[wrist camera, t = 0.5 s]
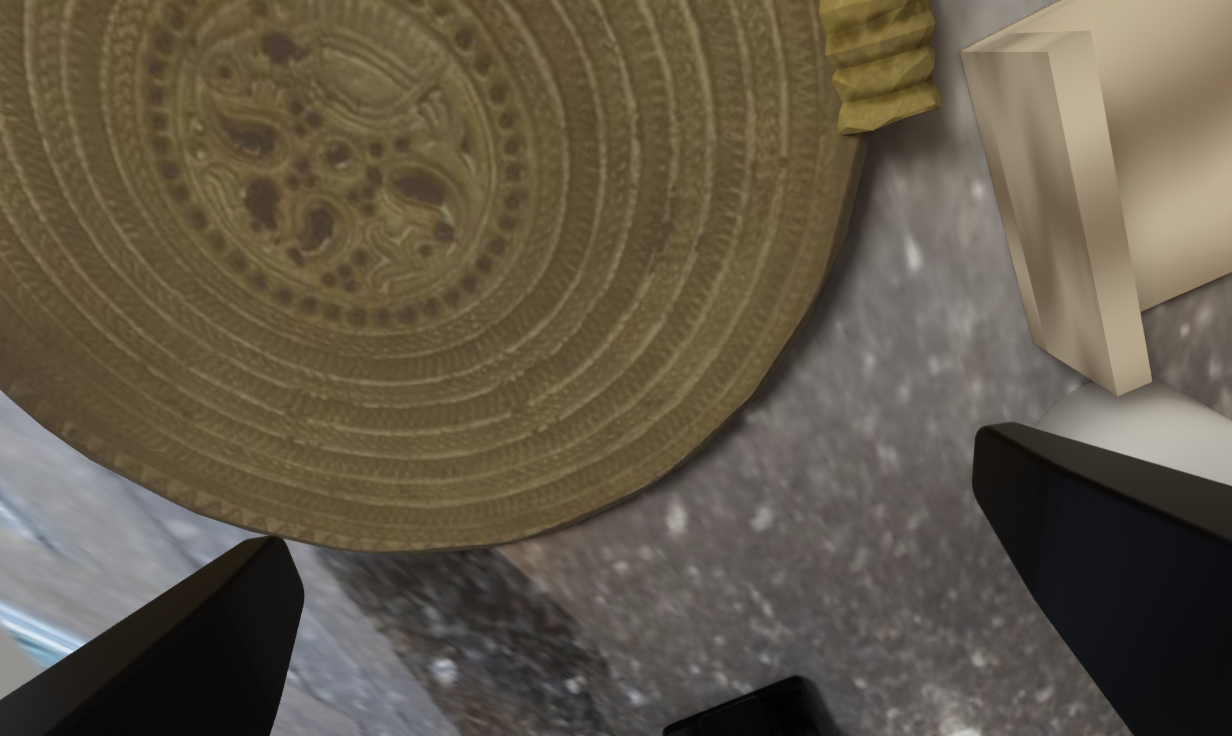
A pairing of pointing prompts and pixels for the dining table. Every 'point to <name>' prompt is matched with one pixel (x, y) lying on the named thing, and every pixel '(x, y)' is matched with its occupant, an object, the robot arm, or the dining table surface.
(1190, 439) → the white rounded cylinder
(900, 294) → the dining table surface
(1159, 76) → the dish rack
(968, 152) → the dining table surface
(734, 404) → the decorative disc
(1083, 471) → the robot arm
